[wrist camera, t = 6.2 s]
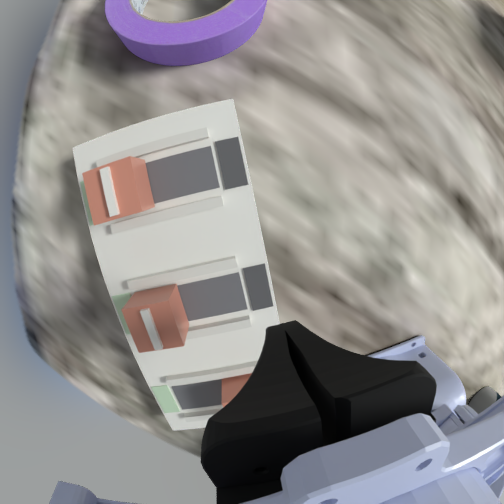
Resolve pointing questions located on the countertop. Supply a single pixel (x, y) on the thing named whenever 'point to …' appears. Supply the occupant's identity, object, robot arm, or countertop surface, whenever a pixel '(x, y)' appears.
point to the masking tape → (184, 31)
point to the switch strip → (189, 252)
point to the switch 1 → (118, 189)
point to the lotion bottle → (484, 399)
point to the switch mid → (156, 319)
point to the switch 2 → (232, 387)
